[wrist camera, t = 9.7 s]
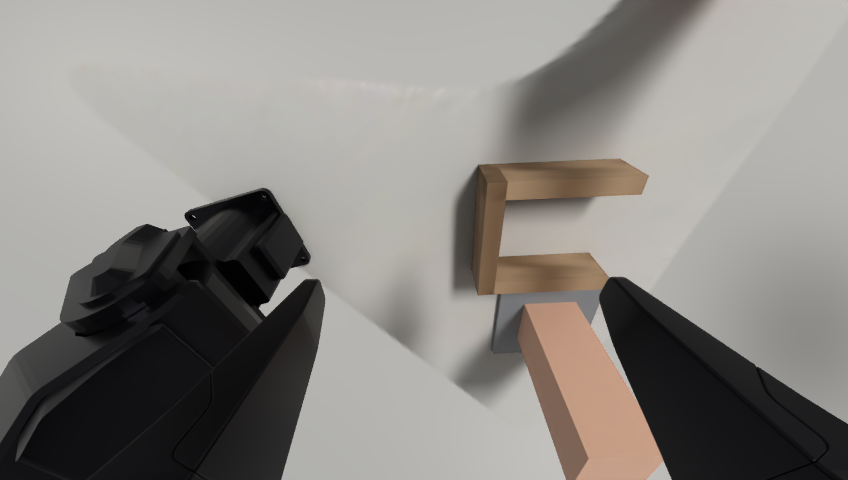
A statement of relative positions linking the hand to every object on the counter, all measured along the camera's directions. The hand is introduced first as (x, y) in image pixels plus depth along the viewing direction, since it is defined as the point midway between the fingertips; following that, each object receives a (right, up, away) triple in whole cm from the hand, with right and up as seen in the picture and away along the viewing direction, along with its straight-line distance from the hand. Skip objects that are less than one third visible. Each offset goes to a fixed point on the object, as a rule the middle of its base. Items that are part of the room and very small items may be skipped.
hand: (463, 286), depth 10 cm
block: (+10, -6, +19) cm, 22 cm away
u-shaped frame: (+8, +3, +13) cm, 16 cm away
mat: (+10, -6, +19) cm, 23 cm away
